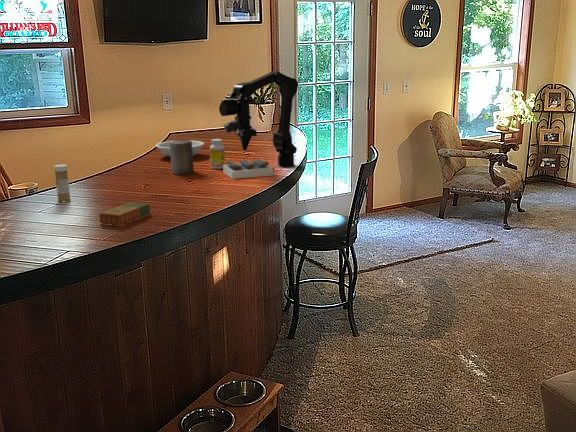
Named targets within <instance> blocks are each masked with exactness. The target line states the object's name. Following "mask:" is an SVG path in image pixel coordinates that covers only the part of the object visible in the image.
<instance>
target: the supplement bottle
mask: <svg viewBox="0 0 576 432" xmlns="http://www.w3.org/2000/svg"><path fill="white" fill-rule="evenodd" d="M225 151H226V149H225V146H224V145H223V139H222V138H221V139H220V138H214V139H211V145H210V146H209V157H210V158H209V161H210V168H211V169H214V170H218V169H223V165H226V154H225Z"/></svg>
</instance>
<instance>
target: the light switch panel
mask: <svg viewBox="0 0 576 432" xmlns="http://www.w3.org/2000/svg"><path fill="white" fill-rule="evenodd" d="M239 164H240V163H239ZM240 165H241V166H242V169H236V168H233V167H231V166H230V165H228V164H225V165H223V168H222V171H223V173H224V174H225V175H227V176H228V177H229V178H231V179H232V180H235V179H244V178H246V179H247V178H257V177H258V178H259V177H268V176H274V171H275V167H271V166H270V165H266V167H259V166H257V165H256V164H255V166H256V167H252V168H246V167H245V166H243V165H242V164H240Z"/></svg>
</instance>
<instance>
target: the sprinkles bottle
mask: <svg viewBox="0 0 576 432" xmlns="http://www.w3.org/2000/svg"><path fill="white" fill-rule="evenodd" d="M53 171H54V174H55V185H56V187H55V188H56V195H57V202H58V201H59V203H64V202H63V201H68V202H70V201H71V191H70V182H69V176H68V165H67V164H56V165H53ZM69 200H70V201H69Z"/></svg>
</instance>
